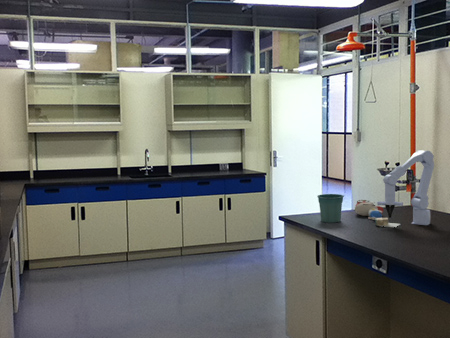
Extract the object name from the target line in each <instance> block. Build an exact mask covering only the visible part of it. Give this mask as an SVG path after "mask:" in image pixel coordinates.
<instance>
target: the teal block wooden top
mask: <svg viewBox="0 0 450 338" xmlns="http://www.w3.org/2000/svg"><path fill="white" fill-rule="evenodd" d="M374 221H375V226H379V225H388V223H389V217H382V218H376V219H375V220H374Z"/></svg>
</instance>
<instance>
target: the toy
mask: <svg viewBox="0 0 450 338" xmlns="http://www.w3.org/2000/svg"><path fill="white" fill-rule="evenodd" d="M375 203H376V202H375V200H366V199H357V200H356V204H355V207H354V211H355V213H356V214H358V215H360V216H363V217H368V219H369V220H372V221H373V220H374V221H375V219H376V218H383V217H382V216H383V213H384V208H383V207H382V206H381V205H375Z"/></svg>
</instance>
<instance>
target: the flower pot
mask: <svg viewBox="0 0 450 338" xmlns="http://www.w3.org/2000/svg"><path fill="white" fill-rule="evenodd" d="M317 200H318V203H319V213H320V221H321V222H324V223H328V224H329V223H330V224H333V223H337V222H338V223H339V222H341V220H342V218H341V217H342V206H343V205H342V204H343V201H344V194H340V193H339V194H338V193H322V194H318V195H317Z"/></svg>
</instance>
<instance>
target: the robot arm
mask: <svg viewBox="0 0 450 338" xmlns="http://www.w3.org/2000/svg"><path fill="white" fill-rule="evenodd" d="M434 157H435V155H434V154H433V153H432V151H430V150H422V149H418V150H416V151H415V152H414V153H413V154H412V155H411V157H409V158H408V159H407V160H406V161H405V162H404V163H403V164H402V165H398V166H395V168H394V169H393V170H392V171H391V172H389V173H388V174H386V175H385V176H384V178H383V179H382V182H383V183H384V201H376V206H384V207H385V210H386V212H387V217H388V219H392V214H393V211H394V209H395V208H396V206H397V207H403V206H404V202H402V201H401V202H399V201H396V184H397V183H398V180H399V179H400V178H401V177H403V176H404V175H405V174H406V172H407V170H408V169H409V168H411V167H412V166H413V165H415V164H416V163H421V165H422V167H423V169H422V172H421V177H420V181H419V184H418V188H417V190H416V192H415V193H414V195H413V197H412V198H411V200H410V205H411V206H412V208H413V209H412V222H411V223H410V224H411V225H421V226H429V225H430V224H431V210H430V209H428V207H429V195H428V191H429V188H430V183H431V180H432V175H433V173H434V172H433V171H434V168H435V162H434V159H435V158H434Z"/></svg>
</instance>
